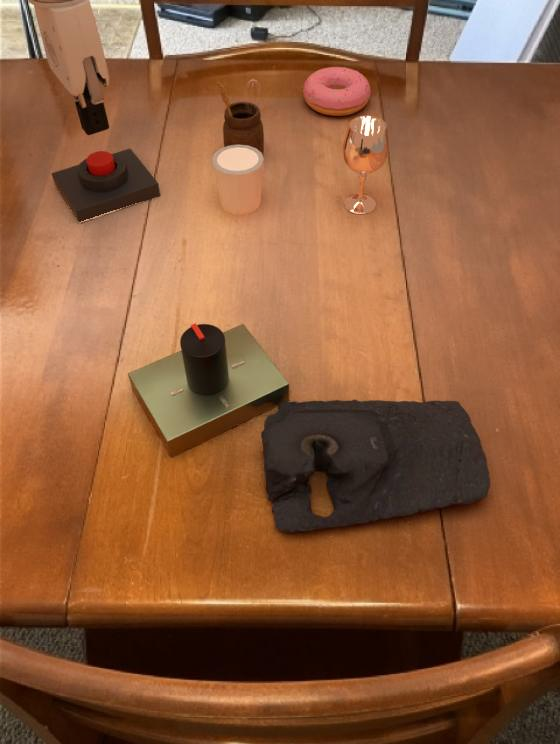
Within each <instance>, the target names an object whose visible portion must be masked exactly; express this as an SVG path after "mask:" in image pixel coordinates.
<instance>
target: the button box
mask: <svg viewBox="0 0 560 744" xmlns="http://www.w3.org/2000/svg"><path fill="white" fill-rule="evenodd" d="M111 154H112V156H113V159H114V163H115V171H114V172H113V173H111V174H108V175H105V176H93V175H91V174H90V172H89V169H88V165H87V161H86V159H87V157H86V158H84V160H82V161H81V162H80V163H79V164H76V165H73V166H70V167H67V168H64V169H61V170H58V171H54V172H52V173H51V177H52V179H53V183H54V186H55V185H56V186H57V188H58V189H57V188H56V189H57V191H58V190H59V191H60V193H61V194H62V196H63V197H64V199H65V200H64V199H63V200H64V202H65V201H66V202H67V203H66V202H65V203H66V204H68V205H69V207H70V208H69V207H68V208H69V210H70V209H71V210H72V211H71V210H70V211H71V213H72V212H73V213H74V214H73V213H72V214H73V216H74V215H75V216H74V218H75V217H76V218H77V219H76V218H75V219H76V221H77V220H78V221H79V222H81V221H84V220H86V219H90V218H93V217H95V216H99V215H101V214H104V213H107V212H110V211H113V210H117V209H120V208H123V207H126V206H129V205H132V204H135V203H139V202H142V201H145V202H148V201H150V200H153V199H156V198H159V197H161V191H160V184H159V183H158V181H157V179H156V178H155V177H154V176H153V175H152V173H151V172H150V170H148V169H147V167H146V166H145V165H144V164H143V162H142V161H141V160H140V158H139V157H138V156H137V155H136V153H135V152H134V150H132V148H126V149H124V150H120V151H118V152H117V151H116V152H114V153H111ZM56 186H55V187H56ZM59 191H58V192H59ZM60 193H59V194H60ZM61 194H60V195H61ZM62 196H61V197H62ZM63 197H62V198H63ZM155 197H156V198H155ZM152 198H153V199H152ZM147 200H148V201H147ZM142 203H143V202H142ZM139 204H140V203H139ZM68 205H67V206H68ZM78 221H77V222H78ZM79 222H78V223H79Z"/></svg>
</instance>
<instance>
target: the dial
mask: <svg viewBox="0 0 560 744" xmlns="http://www.w3.org/2000/svg"><path fill="white" fill-rule="evenodd" d="M223 332H224V331H223V330H222V329H220V328H219V327H218V326H216V325H213V324H209V323H199V324H197V323H196V322H195V323H193V324H190V327H188V328H187V329H186V330H185V331H184V332H183V333H182V334H181V337H180V340H179V341H180V342H179V345H180V351H182V356H183V362H184V367H185V373H186V378H187V383H188V385H189V387H190V388H191V389H192V390H193V391H195V392H197V393H199V394H206V395H207V394H214V393H217V392H219V391H220V390H222V389H223V388H224V387H225V386H226V384H227V383H228V380H229V373H228V363H227V354H226V344H225V336H224V334H223Z"/></svg>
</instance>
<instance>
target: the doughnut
mask: <svg viewBox="0 0 560 744" xmlns="http://www.w3.org/2000/svg"><path fill="white" fill-rule="evenodd" d="M301 89H302V93H303V97H304V100H305V102H306V104H307V105H308V106H309V107H310V108H311V109H312V110H314V111H316V112H318V113H319V114H322V115H326V116H332V117H343V116H348V115H353V114H355V113H357V112H359V111H361V110H362V109H363V108H364V107H366V105H367V103H368V102H369V99H370V97H371V94H372V93H371V92H372V91H371V90H372V89H371V85H370V83H369V81H368V78H366V76H364V75H363V74H362V72H361V71H360V72H359V71H358V70H357V69H356V70H355V69H352V68H348V67H345V66H344V67H341V66H330V67H324V68H321V69H318V70H316V71H315V72H311V73H310V75H309V76H308V78H307V79H306V80H304V85H303V86H302V88H301Z"/></svg>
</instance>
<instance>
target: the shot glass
mask: <svg viewBox="0 0 560 744" xmlns="http://www.w3.org/2000/svg"><path fill="white" fill-rule="evenodd" d="M264 161H265V158H264V154H263V155H262V153H261V152H260V151H259V150H257V149H256V148H254V147H251V146H248V145H231V146H227V147H224V146H223V147H222V148H219V149H218V150H217V151H216V152H215V153H214V154H213V156H212V158H211V163H212V167H213V173H214V178H215V183H216V188H217V192H218V197H219V203H220V207H221V208H222V209H223V210H224V211H225V212H226V213H229V214H232V215H238V216H239V215H240V216H241V215H247V214H250V213H252V212H255V211H256V210H257V209H258V208H260V205H261V201H262V189H263V177H264V176H263V174H264V165H265V164H264V163H265V162H264Z"/></svg>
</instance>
